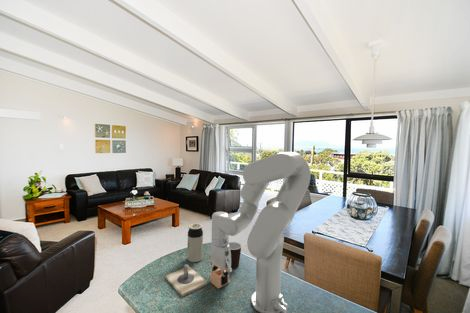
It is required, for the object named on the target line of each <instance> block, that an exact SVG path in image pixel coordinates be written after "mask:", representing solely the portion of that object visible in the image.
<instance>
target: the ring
mask: <svg viewBox="0 0 470 313" xmlns="http://www.w3.org/2000/svg"><path fill="white" fill-rule="evenodd" d="M225 272H226V270H224V273H225ZM221 276H222V272H221V269H220V268H218V269H216V270H214V271H212V270H211V271H210V276H209V277H210V279H209V281H210V283H211V284H212V285H213V286H214V287H216V288H217V289H220V288H222V287H224V286H226V285H228V284H230V274H229V275H228V283H226V284H225V285H223V286H222V285H221Z"/></svg>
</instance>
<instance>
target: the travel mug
mask: <svg viewBox="0 0 470 313" xmlns="http://www.w3.org/2000/svg"><path fill="white" fill-rule="evenodd" d="M203 242H204V230H203V224H202V223H191V224H189V225H188V231H187V261H188V262H191V263H198V262H200V261H202V260H203V257H204V256H203V255H204V254H203V249H204V244H203Z"/></svg>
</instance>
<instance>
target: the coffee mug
mask: <svg viewBox="0 0 470 313" xmlns="http://www.w3.org/2000/svg"><path fill="white" fill-rule="evenodd" d="M229 245H230V251H231V269H236V268H238V267H239V266H240V259H241V252H242V244H241V243H239V242H236V241H229Z"/></svg>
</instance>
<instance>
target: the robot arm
mask: <svg viewBox="0 0 470 313" xmlns="http://www.w3.org/2000/svg"><path fill="white" fill-rule="evenodd" d="M242 170H243V171H242V178H243V180H244V184H243V185H242V187H241V189H240V190H239V191H240V192H239V195H240V197H241V199H242V200H243V202H242V204H241V206H240V208H239V209H238V212H236V213H234V214H232V215H230V214H229V213H228V212H225V211H216V212H213V213H212V215H211V242H210V254H209V257H208V258H209V261H210V265H211V272H212V271H214V270H216V269H218V268H220V269H221V272H222V276H221V285H222V287H224V286H226V285H227V284H226V283H228V275H229V276H230V274H231V273H232V272H233V268H231V251H230V245H229V242H230V241H229V240H230V239H229V238H230V237H234V236H237V235H238V234H240V233H241V232H242V231H245V229H247V228H248V227H249V226H250V225H251V223H252V221H253V220H254V218H255V216H256V214H257V212H258V209H259V205H260V204H259V202H261V199H262V196H263V195H264V193H265V191H266V189H267V187H268V186H269V184H270V183H272V182H274V181H278V180H282V179H284V182H283V183H282V185H281V187H279V191H278V193H277V194H276V197H275V198H274V200H273V201H272V202H270V203H269V204H267V205H266V206H264V207H263V208H262V209H261V211H260V213H258V216H257V218H256V220H255V222H254V224H253V226H252V228H251V229H250V232H249V234H248V238H247V243H246V244H247V249H248V251H249V252H250V255H251V256H253V257H255V258H256V263H255V264H256V265H255V266H256V268H255V270H256V271H255V292H253V294H252V295H251V298H250V299H251V304H252V307H253V308H254V309H255V310H256V311H257V312H259V313H288V307H289V304H288V303H287V302H286V301H284V300H285V299H284V298H283V294H281V289H282V288H281V284H282V283H281V281H282V280H281V278H282V263H283V262H282V258H283V249H284V248H283V247H284V240H285V233H284V231H285V229H286V228H287V227H288V226H289V225H290V224H291V223H292V221H293V219H294V217H295V214H296V213H297V211H298V208H299V207H300V206H301V203H302V201H303V199H304V197H305V195H306V192H307V191H308V189H309V186H310V182H311V169H310V165H309V164H308V162H307V160H306V159H305V158H304V157H303V155H302V154H300V153H298V152H295V151H282V152H277V153H274V154H272V155H269V156H265V157H263V158H260V159H258V160H254V161H252V162H251V161H250V162H249V163H247V164H246V165H245V166H244V169H242ZM224 270H226V272H225V273H224ZM225 284H226V285H225ZM228 284H229V283H228ZM223 285H224V286H223Z"/></svg>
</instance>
